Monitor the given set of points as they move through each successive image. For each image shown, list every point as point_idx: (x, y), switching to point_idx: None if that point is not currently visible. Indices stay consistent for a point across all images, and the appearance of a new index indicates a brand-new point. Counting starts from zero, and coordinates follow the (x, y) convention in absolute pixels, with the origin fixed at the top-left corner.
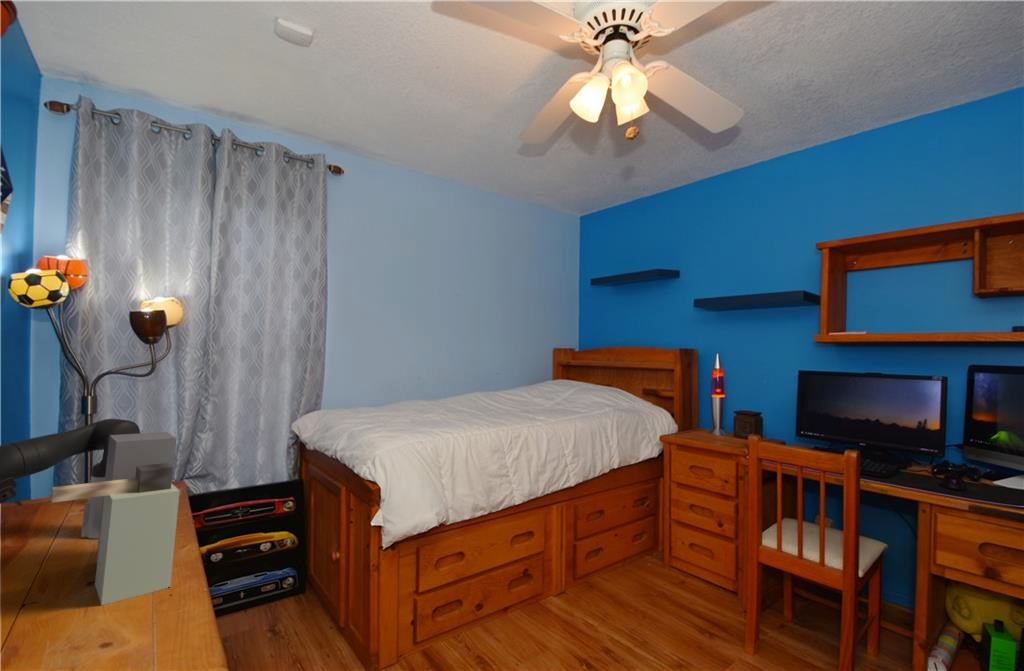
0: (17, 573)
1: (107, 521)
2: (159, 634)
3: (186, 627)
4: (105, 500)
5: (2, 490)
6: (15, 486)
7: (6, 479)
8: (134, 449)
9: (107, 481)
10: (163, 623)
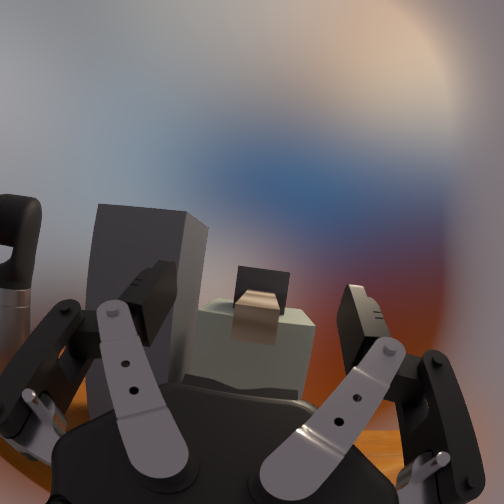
0: (18, 460)
1: (271, 373)
2: (398, 452)
3: (392, 439)
4: (216, 336)
5: (365, 299)
6: (174, 298)
7: (165, 265)
8: (192, 234)
9: (249, 293)
10: (375, 450)
